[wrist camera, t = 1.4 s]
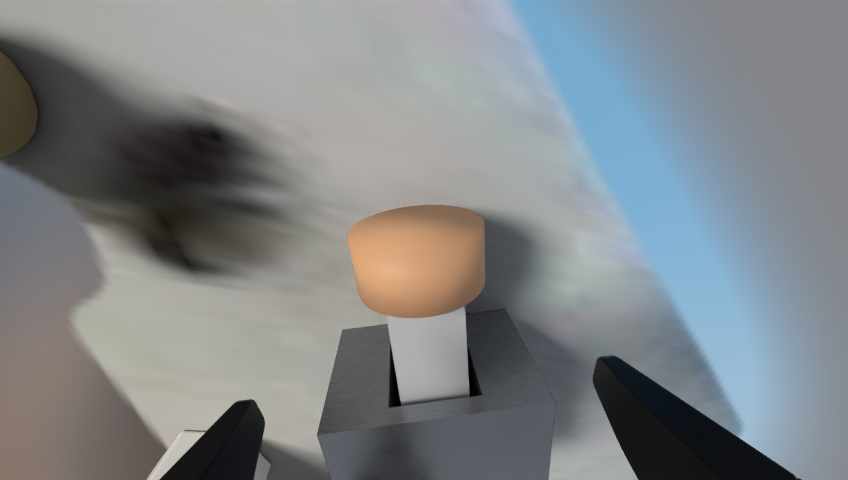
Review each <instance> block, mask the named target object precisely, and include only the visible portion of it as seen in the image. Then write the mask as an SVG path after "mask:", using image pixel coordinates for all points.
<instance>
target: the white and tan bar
mask: <svg viewBox="0 0 848 480" xmlns="http://www.w3.org/2000/svg"><path fill="white" fill-rule="evenodd" d="M347 238H348V243H349V248H350V253H351V258H352V263H353V268H354V273H355V278H356V283H357V288H358V293H359V296H360V298H361V300H362V301H363V303H364V304H365V305H366V306H368V307H369V308H370V309H372V310H374V311H376V312H378V313H381V314H384V315H386V318H387V324H388V330H389V336H390V342H391V348H392V353H393V359H394V365H395V371H396V377H397V383H398V389H399V395H400V401H401V406H406V405H414V404H421V403H429V402H436V401H443V400H451V399H458V398H465V397H470V396H469V376H468V356H467V336H466V316H465V305H467V304H468V303H470V302H471V301H473V300H474V299H475V298H476V297H477V296H478V295H479V294H480V293H481V291H482V290H483V288H484V285H485V281H486V275H485V224H484V220H483V218H482V217H481V216H480V215H478V214H477V213H475V212H473V211H471V210H468V209H464V208H460V207H455V206H445V205H421V206H410V207H403V208H398V209H393V210H389V211H385V212H382V213H378V214H375V215H373V216H370V217H368V218H366V219H364V220H362V221H360V222H359V223H357V224H356V225H354V226H353V227H352V228H351V229H350V231H349V233H348V236H347Z"/></svg>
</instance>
